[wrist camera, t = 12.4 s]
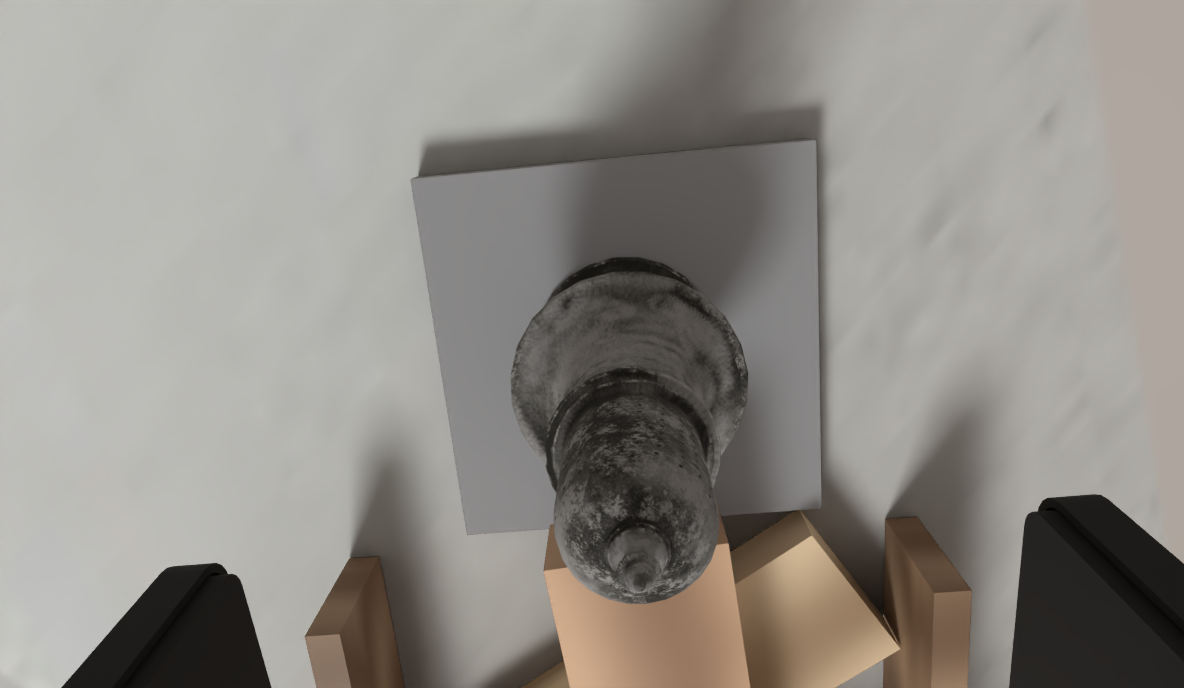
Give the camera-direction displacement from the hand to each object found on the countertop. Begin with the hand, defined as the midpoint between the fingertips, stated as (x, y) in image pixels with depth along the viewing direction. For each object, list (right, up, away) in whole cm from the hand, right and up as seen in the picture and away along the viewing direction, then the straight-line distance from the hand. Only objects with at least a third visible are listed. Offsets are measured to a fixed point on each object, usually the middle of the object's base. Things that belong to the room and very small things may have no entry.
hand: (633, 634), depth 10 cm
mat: (+1, +3, +14) cm, 15 cm away
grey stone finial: (0, +3, +14) cm, 14 cm away
